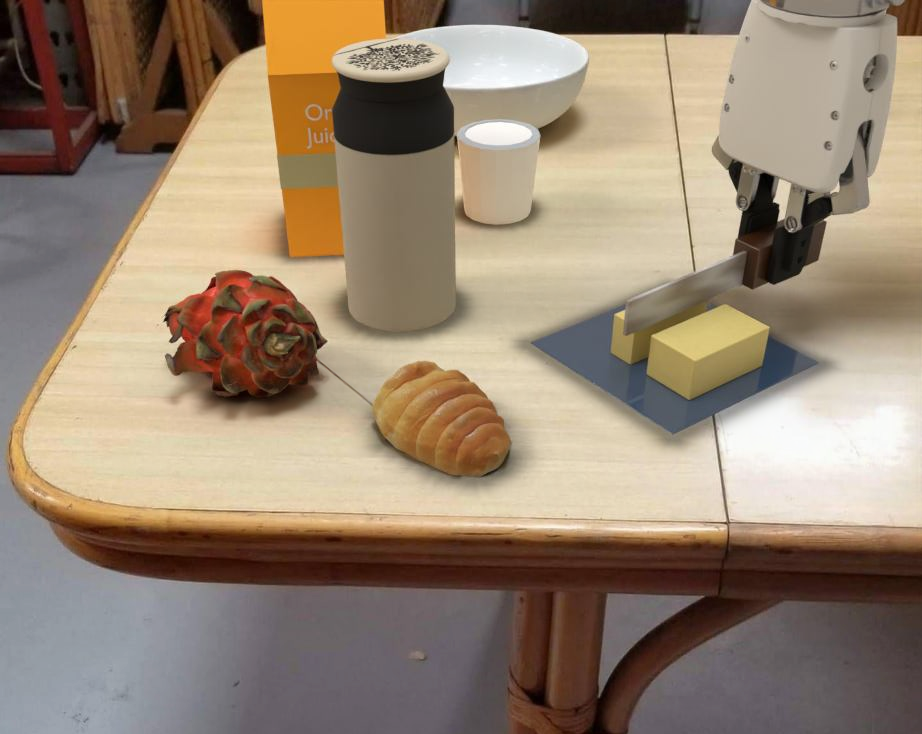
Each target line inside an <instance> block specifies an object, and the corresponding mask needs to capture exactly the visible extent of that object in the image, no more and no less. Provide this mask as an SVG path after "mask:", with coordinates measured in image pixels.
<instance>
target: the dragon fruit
mask: <svg viewBox="0 0 922 734" xmlns="http://www.w3.org/2000/svg"><path fill="white" fill-rule="evenodd" d="M214 275H215V276H213V277H211V279H210V282H209V284H208V285H207V287H206V289H205V290H204V291H203V292H201V293H195V294H191V295H188V296H187V297H185V298H184V299H183V300H181V301H179V302H177V303H175V304H172V305H171V306H169V307H168V308H167V310H166V312H165V314H164V315H163V316H162V318H163V317H164V319H163V321H162V323H165V324H166V328H168V330H169V333H170V335H171V338H169V340H168V343H170V344H174V343H176V342H177V341H179V340H180V338H182V340H183V342H181V343H179V345H178V347H177V348H176V351H175V352H174V355H173V356H172V355H171V354H170V353H166V354H164V359H165V362H166V366H167V368H168V369H169V371H170V372H171V374H172V375H173V376H176V377H178V376H180V375H182V374H183V373H195V374H198V373H208V372H210V373H212V375H211V381H212V382H211V391H212V393H214V394H215V395H216V396H220V397H225V398H226V397H227V398H229V397H232V396H238V395H239V394H240V393H241V392H244V391H247V392H248V393H249V394H250V395H251V396H252V397H256V398H263V397H266V398H268V397H272V396H275V395H276V394H278V393H281V392H283V390H284V389H285V388H286V387H287V386H288V385H293V386H307V385H308V383H310V382H311V381H313V380H314V379H315V378H316V377H317V376H319V375H320V371H319V367H318V361H317V353H318V351H319V350H320V349H321V348H323V347H324V345H326V344H327V343H328V340H327V339H326V338H325V337H324V336H323V335H322V334H321V332H320V331H321V330H320V328H319V326H318V323H317V321H316V318H315V316H314V315H313V314H312V312H311V311H310V310H308V308H307V307H306V306H305V305H304V304H303V303H302V302H300V301H299V300H298V299H297V297H296V296H295V294H294V293H293V292H292V291H291V290H290V289H289V288H287V286H286V285H284V284H283V283H282V282H281V281H280V280H278V279H277V278H276V277H274V276H272V275H270V276H266V275H263V274H261V275H254V274H253V273H251V272H249V271H247V270H241V269H230V270H229V269H228V270H222V271H218V272H215V273H214ZM162 318H161V319H162ZM158 326H159V324H156V327H158Z"/></svg>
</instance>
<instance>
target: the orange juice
mask: <svg viewBox="0 0 922 734" xmlns="http://www.w3.org/2000/svg"><path fill="white" fill-rule="evenodd" d="M261 1H262V2H261V3H262V14H263V15H262V16H263V29H264V41H265V54H266V67H267V71H266V73H267V81H268V89H269V90H268V91H269V97H270V104H271V114H272V123H273V130H274V138H275V146H276V159H277V167H278V169H277V170H278V176H279V184H280V190H281V196H282V202H283V203H282V205H283V212H284V221H285V228H286V236H287V237H286V238H287V244H288V252H289V258H301V257H325V256H326V257H327V256H344V247H343V235H342V224H341V212H340V200H339V188H338V176H337V164H336V152H335V140H334V128H333V116H332V108H333V106H334V104H335V101H336V99H337V96H338V94H339V91H340V89H341V87H340V82H339V77H338V73H337V71H336V70H335V69H334V67H333V66H332V57H333V55H334V54H335V53H336V52H337V51H338V50H340V49H342V48H344V47H346V46H348V45H351V44H355V43H358V42H363V41H369V40H376V39H387V32H386V31H387V29H386V16H385V15H386V14H385V0H261Z"/></svg>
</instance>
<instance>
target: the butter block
mask: <svg viewBox="0 0 922 734" xmlns="http://www.w3.org/2000/svg"><path fill="white" fill-rule="evenodd" d="M770 330H771V328H770V326H769V325H767V324H765V323H763V322H761V321H759V320H757V319H755V318H753V317H751V316H749V315H747V314H746V313H743V312H741V311H740V310H738V309H736V308H734V307H732V306H730V305H728V304H726V303H723V304H722V305H720V306H717V307H715V309H712V310H710V311H708V312H705V313H703V314H700V315H698V316H696V317H693V318H691V319H689V320H686V321H684V322H682V323H679V324H677V325H675V326H672V327H670V328H668V329H665V330H663V331H661V332H658V333H656V334H654V335H652V336H651V342H650V350H649V358H648V366H647V375H648V376H650V377H652V378H653V379H655V380H657V381H658V382H660V383H662V384H663V385H665V386H666V387H668V388H670V389H671V390H673V391H675V392H676V393H678V394H680V395H681V396H683V397H684V398H686V399H688V400H691V399H693V398H695V397H697V396H700V395H702V394H704V393H706V392H708V391H710V390H712V389H714V388H716V387H719V386H721V385H723V384H725V383H727V382H729V381H731V380H733V379H735V378H737V377H740V376H742V375H744V374H746V373H748V372H750V371H752V370H754V369H756V368H759V367H761V366H762V363H763V358H764V354H765V349H766V344H767V339H768V336H769V333H770Z"/></svg>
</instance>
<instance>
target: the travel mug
mask: <svg viewBox="0 0 922 734" xmlns="http://www.w3.org/2000/svg"><path fill="white" fill-rule="evenodd" d="M449 61H450V57H449V54H448V53H447V51H446V50H444V49H443V48H442V47H440V46H438V45H435V44H432V43H429V42H425V41H419V40H412V39H394V38H386V39H376V40H369V41H363V42H358V43H355V44H351V45H348V46H346V47H344V48H342V49H340V50H338V51H337V52H336V53H335V54H334V55H333V57H332V66H333V67H334V69H335V70H336V71H337V73H338V77H339V82H340V87H341V89H340V91H339V94H338V96H337V99H336V101H335V104H334V106H333V108H332V116H333V128H334V140H335V152H336V164H337V176H338V188H339V200H340V212H341V224H342V235H343V247H344V255H343V256H344V257H343V258H344V271H345V281H346V282H345V283H346V294H347V304H348V305H347V306H348V307H347V308H348V311H349V314H350V316H352V318H353V319H354V320H355V321H357V322H358V323H359V324H361V325H364V326H366V327H368V328H371V329H376V330H379V331H384V332H385V331H386V332H413V331H419V330H425V329H427V328H431V327H434V326H437V325H439V324H441V323H442V322H444V321H446V320H447V319H449V318H450V317H451V316H452V315H453V313H454V312H455V310H456V308H457V307H456V306H457V279H456V278H457V276H456V273H457V269H456V267H457V266H456V183H455V181H456V177H455V176H456V175H455V174H456V171H455V163H456V161H455V136H454V106H453V104H452V102H451V100H450V98H449V96H448V94H447V92H446V90H445V88H444V86H443V83H444V74H445V69H446V67H447V66H448V64H449Z"/></svg>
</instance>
